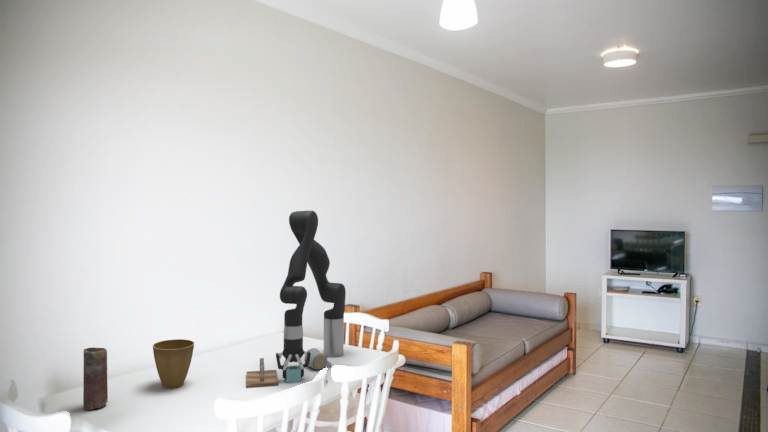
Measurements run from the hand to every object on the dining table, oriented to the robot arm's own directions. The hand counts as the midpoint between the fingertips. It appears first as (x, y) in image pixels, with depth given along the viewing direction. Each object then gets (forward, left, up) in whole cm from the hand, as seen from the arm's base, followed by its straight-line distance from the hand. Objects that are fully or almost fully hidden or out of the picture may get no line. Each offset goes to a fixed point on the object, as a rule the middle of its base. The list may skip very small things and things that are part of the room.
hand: (293, 378), depth 214 cm
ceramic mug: (-14, +12, -1) cm, 19 cm away
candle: (+13, -68, -1) cm, 69 cm away
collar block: (0, 0, -1) cm, 1 cm away
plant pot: (-4, -45, -1) cm, 45 cm away
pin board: (-3, -12, -1) cm, 12 cm away
